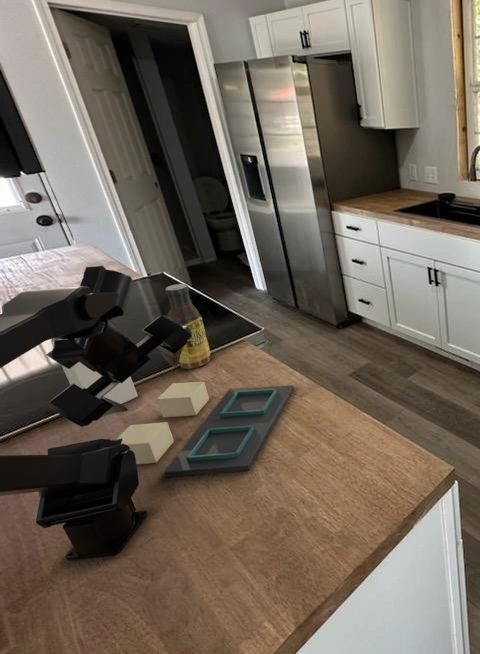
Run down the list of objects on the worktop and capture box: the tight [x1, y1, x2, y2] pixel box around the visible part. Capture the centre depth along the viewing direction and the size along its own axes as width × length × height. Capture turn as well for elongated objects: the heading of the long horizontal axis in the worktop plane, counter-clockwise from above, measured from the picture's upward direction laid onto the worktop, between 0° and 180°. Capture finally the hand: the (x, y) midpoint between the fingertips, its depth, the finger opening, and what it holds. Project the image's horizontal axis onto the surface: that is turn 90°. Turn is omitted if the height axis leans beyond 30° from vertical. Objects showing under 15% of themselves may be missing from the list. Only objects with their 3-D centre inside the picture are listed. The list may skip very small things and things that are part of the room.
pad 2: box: [156, 381, 210, 418], centre depth 83 cm, size 5×6×4 cm
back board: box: [163, 384, 295, 478], centre depth 79 cm, size 22×13×2 cm, turn 8°
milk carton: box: [50, 338, 139, 405], centre depth 82 cm, size 7×7×19 cm
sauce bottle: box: [165, 283, 212, 370], centre depth 95 cm, size 7×6×20 cm
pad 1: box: [116, 421, 175, 465], centre depth 72 cm, size 5×6×4 cm
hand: (151, 386), depth 73 cm, fingers open, 9 cm apart
